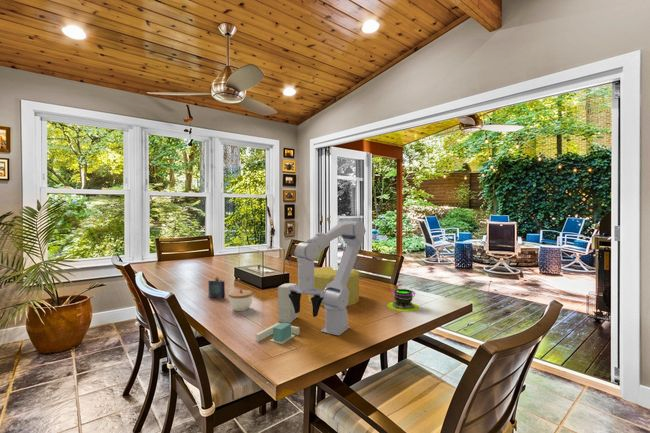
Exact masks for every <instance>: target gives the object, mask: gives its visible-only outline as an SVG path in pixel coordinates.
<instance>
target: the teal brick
mask: <svg viewBox="0 0 650 433" xmlns="http://www.w3.org/2000/svg"><path fill="white" fill-rule="evenodd" d="M280 323H281V324H279V325H277V326H275V327H273V334H272V335H273V337H272V339H273V340H276V341H280V342H282V341H284V340H285V339H287V338H289V337H290V336H291V326H292V323H286V322H280Z"/></svg>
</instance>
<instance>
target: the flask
mask: <svg viewBox="0 0 650 433" xmlns="http://www.w3.org/2000/svg"><path fill="white" fill-rule="evenodd" d="M207 283H208V298H210V297H211V298H212V297H218V298H217V299H225V298H226V290H225V289H226V288H225V280H223V279H219V276H216V277H214V279H209V280H208V282H207ZM224 297H225V298H224Z"/></svg>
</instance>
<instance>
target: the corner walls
mask: <svg viewBox="0 0 650 433" xmlns="http://www.w3.org/2000/svg"><path fill="white" fill-rule="evenodd" d="M281 323H282V322H279V321H278V322H276V323H275V324H272V325H271V326H269V327H267V328H265V329H263V330H261V331H259V332H257V333H255V341H256V342H257V343H258V342H259V343H260V342H261V341H262V340H264V339H266V338H268V337H270V336H272V335H273V327H275V326H277V325H279V324H281ZM291 334H292V335H295V336H298V335H300V326H294V325H291Z"/></svg>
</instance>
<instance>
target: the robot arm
mask: <svg viewBox="0 0 650 433" xmlns="http://www.w3.org/2000/svg"><path fill="white" fill-rule="evenodd" d="M365 233H366V228H365V224H364V222H363V221H361V220H357V221H356V220H344V219H343V220H341V221H339V222H337V224H336V225H335V226H333V227H332V228H331V229H329V230H327V232H326V233H324V232H316V233H315V235H314V236H313V237H311V238H308V239H306V241H305V242H304V241H303V242H302V241H301V242H299V243H298V244H297V245H296V247H295V250H294V255H295V257H296V262H297V286H289V287H288V292H291V293H290V294H289V298H290V299H291V301H292V304H293V307H294V311H295V313H298V314H299V313H300V311H301V297H302V295H308V296H309V295H314V297H312V298H311V301H312V303H311V306H312V317H313V318H316V317H317V316H319V311H320V307H321V306H320V305H321V302H322V303H323V304H324V306H323V307H324V308H325V309H324V312H325V313H324V316H325V317H324V324H325V325H324V328H322V329H321V330H320V332H321V333H326V334H330V335H333V336H340V335H343V333H344V332H346V331H347V330H348V329H350V325H348V310H347V307H348V306H347V304H348V297H349V294H350V292H349V290H348V288H347V287H346V285H347V282H348V279H349V277H350V274H351V271H352V269H354V265H355V263H356V260H357V257H358V254H359V252H360V248H361V246H362V242H363V239H364V236H365ZM338 237H341V238H342V240H343V242H344V243H345V244H346V245H345V249H344V251H343V255H342V257H341V260H340V262H339V264H338V267H337V269H336V270H337V272H336V275H335V278H334V280H333V281H332V282H331V283H329V284H327V286H326V288H325V290H324V291H323V290H320V289H317V288H314V269H315V259H317V256H318V255H319V253H320V252H321V251H323V250H325V249H326V248H327V247H329V246H330V242H332V241H333V240H335V239H337V238H338ZM338 291H339V292H338Z"/></svg>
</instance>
